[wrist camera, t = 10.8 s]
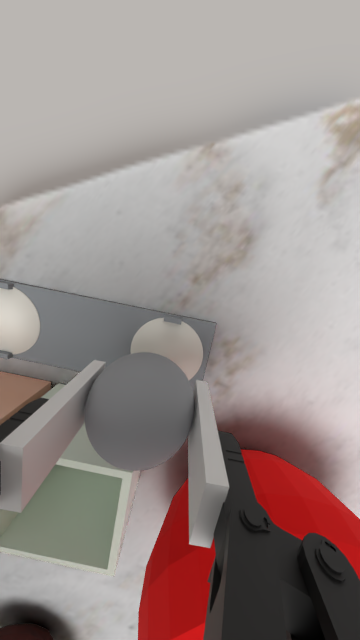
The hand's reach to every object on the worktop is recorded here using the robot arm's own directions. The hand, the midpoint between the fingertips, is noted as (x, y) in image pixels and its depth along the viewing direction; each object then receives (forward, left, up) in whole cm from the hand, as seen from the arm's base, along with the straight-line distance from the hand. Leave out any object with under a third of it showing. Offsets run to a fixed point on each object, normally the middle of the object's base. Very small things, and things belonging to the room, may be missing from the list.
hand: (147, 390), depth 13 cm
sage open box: (-5, -11, -7) cm, 14 cm away
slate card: (-7, 0, -7) cm, 10 cm away
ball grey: (0, 0, +2) cm, 2 cm away
